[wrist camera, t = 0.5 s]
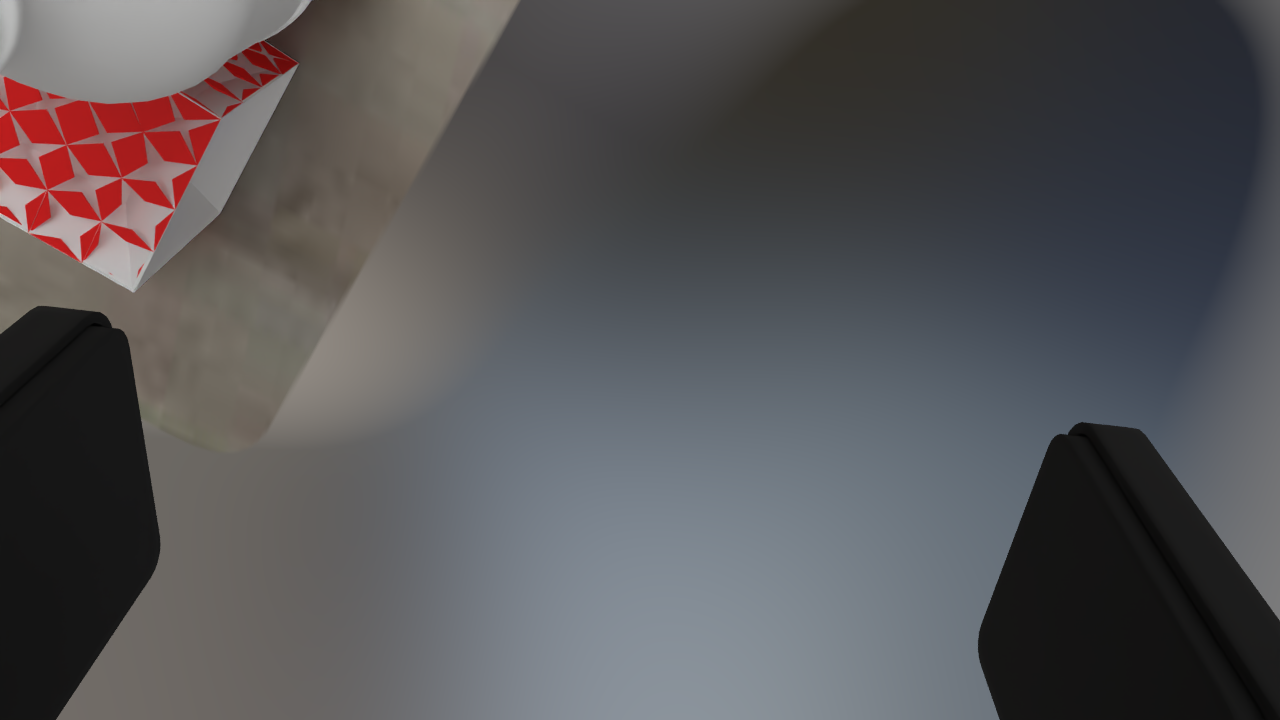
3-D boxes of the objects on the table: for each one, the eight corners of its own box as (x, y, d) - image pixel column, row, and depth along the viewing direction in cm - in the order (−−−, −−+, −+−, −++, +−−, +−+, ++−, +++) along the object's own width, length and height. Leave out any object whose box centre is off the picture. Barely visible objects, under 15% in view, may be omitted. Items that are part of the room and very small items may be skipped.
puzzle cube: (111, -61, 38) (-14, -29, 31) (299, 62, 40) (221, 118, 33) (42, 109, 42) (-85, 172, 35) (219, 215, 44) (132, 294, 37)
